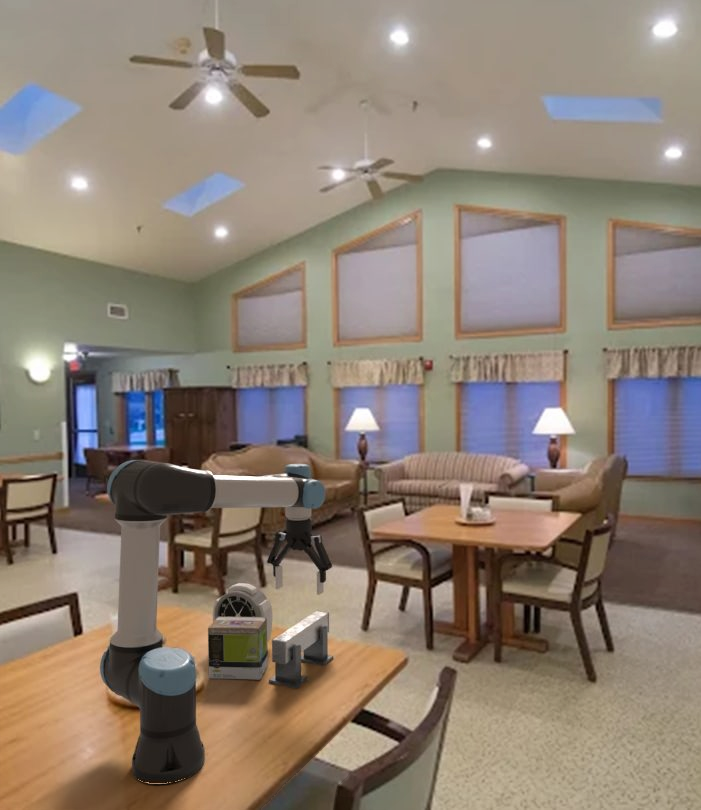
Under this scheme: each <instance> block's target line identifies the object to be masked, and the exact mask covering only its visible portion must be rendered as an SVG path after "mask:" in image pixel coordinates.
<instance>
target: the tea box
mask: <svg viewBox="0 0 701 810" xmlns="http://www.w3.org/2000/svg"><path fill="white" fill-rule="evenodd" d="M207 643H208V644H207V645H208V646H207V647H208V648H207V649H208V651H207V653H208V655H207V656H208V657H207V658H208V677H209V678H208V679H220V680H221V679H223V680H224V679H225V680H226V679H228V680H229V679H230V680H257V681H260V680H261V679H262V677H263V675H264V674H265V672H266V669H267V667H268V662H269V660H268V642H267V618H266V617H218V618H217V619H216V620H215V621H214V622H213V621H212V623H211V624H210V625H209V626H208V628H207Z"/></svg>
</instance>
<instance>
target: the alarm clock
mask: <svg viewBox="0 0 701 810" xmlns="http://www.w3.org/2000/svg"><path fill="white" fill-rule="evenodd" d="M272 607H273V606H272V604H271V601H270V599H269V598H267V596H266V594H265V593H264V592H263V591H262V590H261V589H260V588H258V587H256V586H254V585H253V584H251V583H245V582H244V583H243V582H238V583H236V584H235V583H234V584H233V585H231V586H229V587H227V593H225V594H224V595H221V596H220V597H219V598H217V599H216V600H215V602H214V605H213V608H212V623H213V622H214V621H215V620H216V619H217V618H218V617H266V618H267V643H269V642H270V640H271V637H272V629H273V608H272Z"/></svg>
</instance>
